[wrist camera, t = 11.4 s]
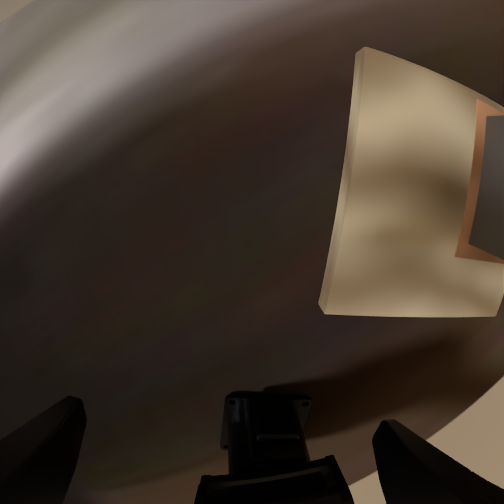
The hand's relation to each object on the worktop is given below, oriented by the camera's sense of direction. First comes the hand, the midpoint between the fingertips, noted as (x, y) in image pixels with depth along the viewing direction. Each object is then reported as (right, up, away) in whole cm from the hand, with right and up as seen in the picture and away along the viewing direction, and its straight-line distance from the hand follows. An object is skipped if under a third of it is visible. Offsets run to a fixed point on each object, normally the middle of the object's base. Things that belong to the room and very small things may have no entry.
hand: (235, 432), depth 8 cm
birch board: (+14, +9, +11) cm, 19 cm away
